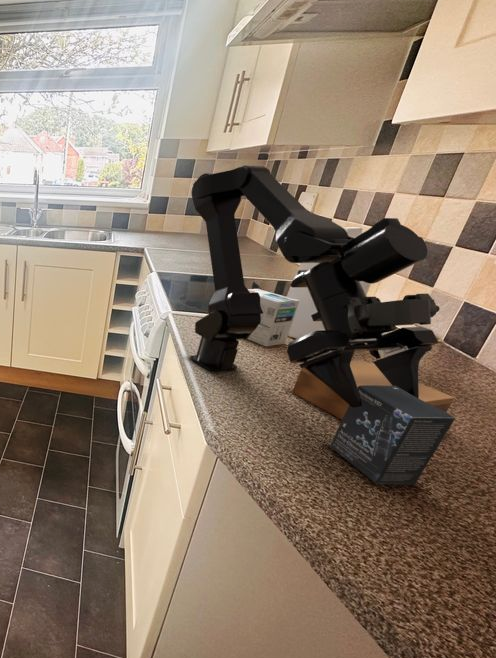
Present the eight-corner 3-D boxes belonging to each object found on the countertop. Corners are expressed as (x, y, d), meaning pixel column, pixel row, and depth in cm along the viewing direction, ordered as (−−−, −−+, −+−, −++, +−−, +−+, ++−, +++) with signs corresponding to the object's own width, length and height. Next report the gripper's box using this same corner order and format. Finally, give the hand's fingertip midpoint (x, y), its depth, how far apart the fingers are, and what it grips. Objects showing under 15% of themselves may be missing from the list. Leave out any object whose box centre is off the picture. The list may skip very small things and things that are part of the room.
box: (327, 447, 61) (357, 384, 56) (364, 448, 61) (397, 384, 57) (375, 485, 54) (413, 416, 49) (417, 485, 54) (458, 416, 50)
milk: (300, 324, 111) (338, 223, 100) (349, 340, 102) (397, 230, 91) (272, 330, 106) (309, 224, 95) (321, 347, 97) (368, 232, 86)
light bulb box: (285, 344, 98) (301, 300, 93) (266, 347, 95) (281, 302, 91) (244, 328, 107) (257, 287, 102) (225, 331, 104) (238, 289, 100)
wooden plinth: (291, 392, 76) (302, 365, 74) (349, 385, 79) (361, 359, 77) (373, 437, 64) (389, 406, 61) (438, 427, 67) (455, 397, 65)
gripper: (338, 270, 51) (393, 392, 46) (455, 269, 55) (520, 383, 49) (267, 311, 62) (306, 414, 56) (370, 308, 65) (416, 405, 60)
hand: (385, 404), depth 55 cm, fingers open, 9 cm apart
